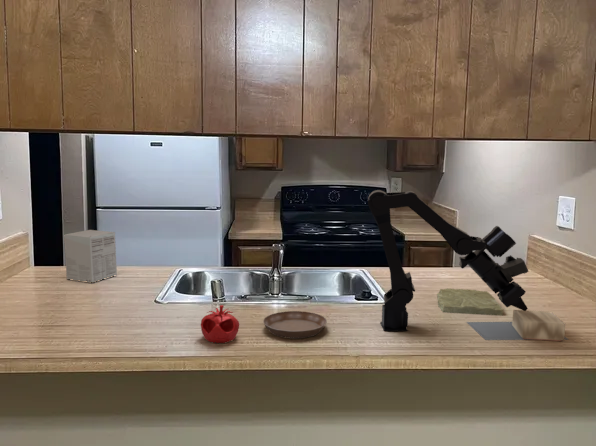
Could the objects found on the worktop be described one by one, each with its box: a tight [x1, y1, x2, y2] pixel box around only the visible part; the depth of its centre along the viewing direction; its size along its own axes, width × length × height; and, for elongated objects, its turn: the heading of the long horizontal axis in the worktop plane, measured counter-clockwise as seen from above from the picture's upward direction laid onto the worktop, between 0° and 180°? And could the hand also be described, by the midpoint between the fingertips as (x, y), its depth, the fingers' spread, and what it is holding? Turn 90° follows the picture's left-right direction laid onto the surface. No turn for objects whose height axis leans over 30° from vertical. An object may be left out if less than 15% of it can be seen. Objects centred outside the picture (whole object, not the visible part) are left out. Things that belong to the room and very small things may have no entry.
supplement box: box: [63, 229, 118, 283], centre depth 197 cm, size 13×13×18 cm
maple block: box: [511, 309, 567, 342], centre depth 141 cm, size 5×10×10 cm
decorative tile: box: [436, 288, 504, 317], centre depth 167 cm, size 19×20×4 cm
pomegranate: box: [200, 304, 240, 344], centre depth 136 cm, size 10×10×9 cm
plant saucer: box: [262, 310, 327, 339], centre depth 145 cm, size 18×18×3 cm
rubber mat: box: [466, 321, 570, 341], centre depth 144 cm, size 22×14×1 cm, turn 92°
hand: (526, 309), depth 141 cm, fingers closed
